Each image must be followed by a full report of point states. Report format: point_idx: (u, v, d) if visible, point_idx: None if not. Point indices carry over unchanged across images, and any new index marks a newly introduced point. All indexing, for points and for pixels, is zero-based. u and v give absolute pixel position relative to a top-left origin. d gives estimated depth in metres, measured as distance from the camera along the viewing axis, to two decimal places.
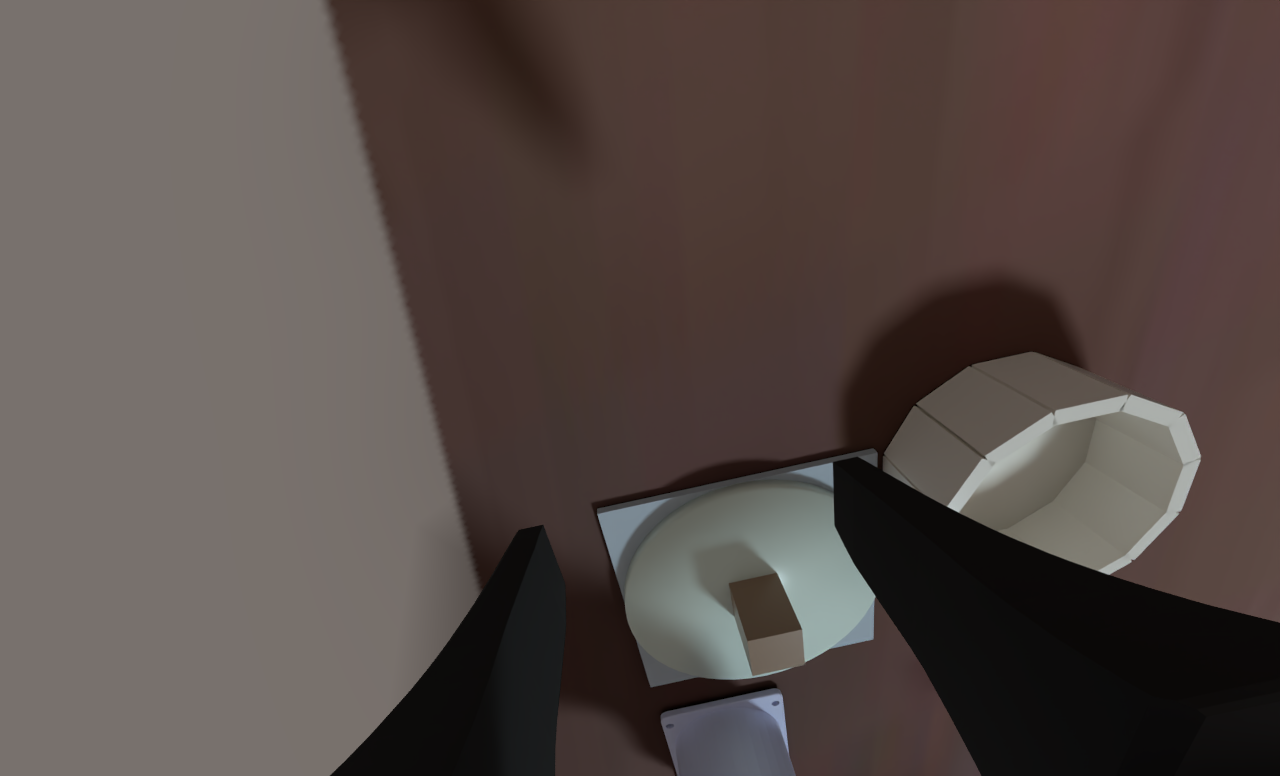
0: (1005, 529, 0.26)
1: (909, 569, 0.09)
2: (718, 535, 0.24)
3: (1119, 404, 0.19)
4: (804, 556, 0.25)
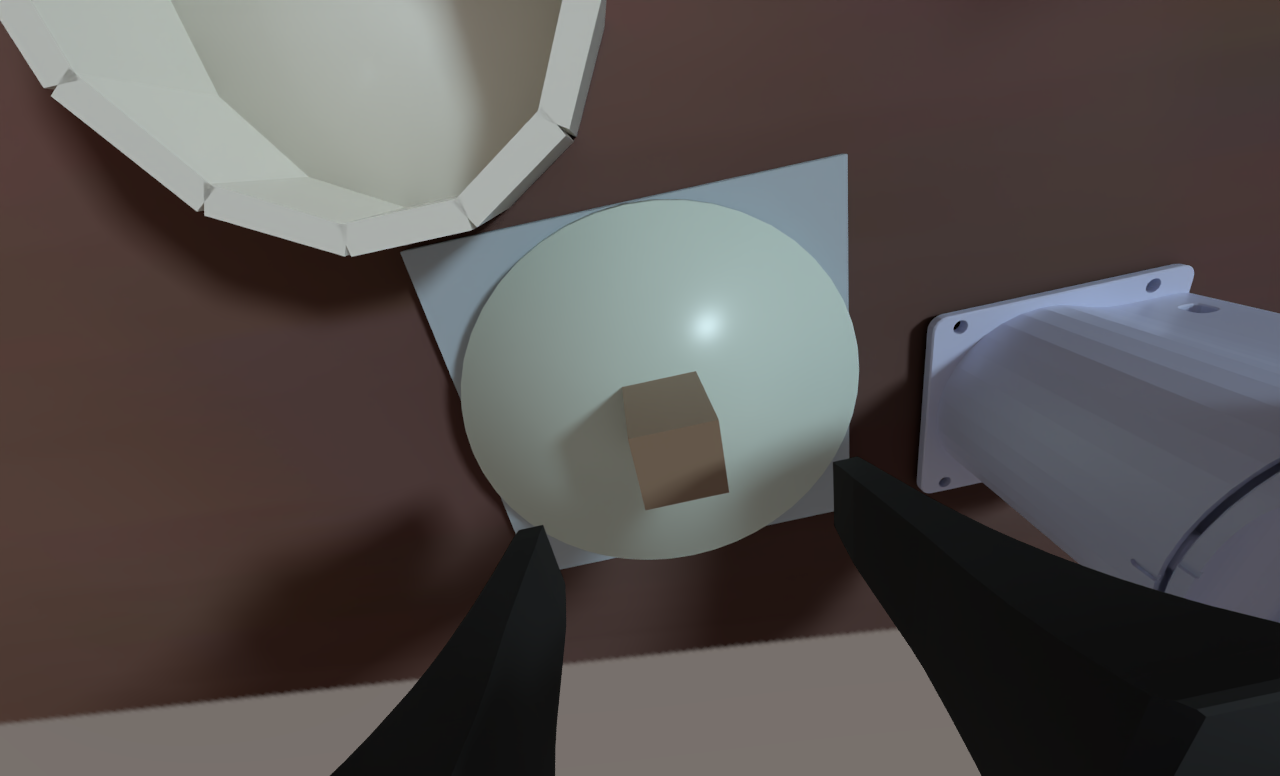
0: None
1: (909, 568, 0.09)
2: (546, 471, 0.18)
3: None
4: (590, 351, 0.16)
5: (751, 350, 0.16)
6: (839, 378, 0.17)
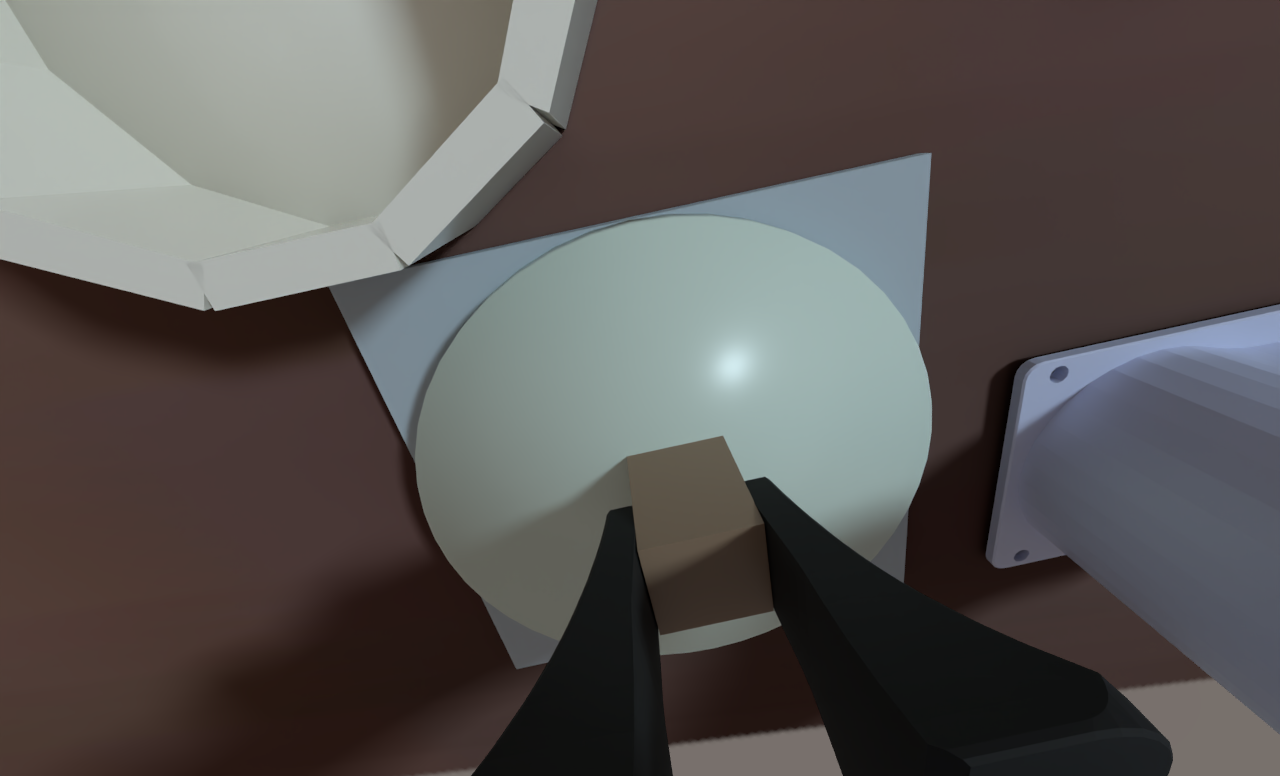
0: None
1: (792, 594, 0.09)
2: (530, 558, 0.14)
3: None
4: (585, 413, 0.12)
5: (795, 409, 0.13)
6: (906, 441, 0.13)
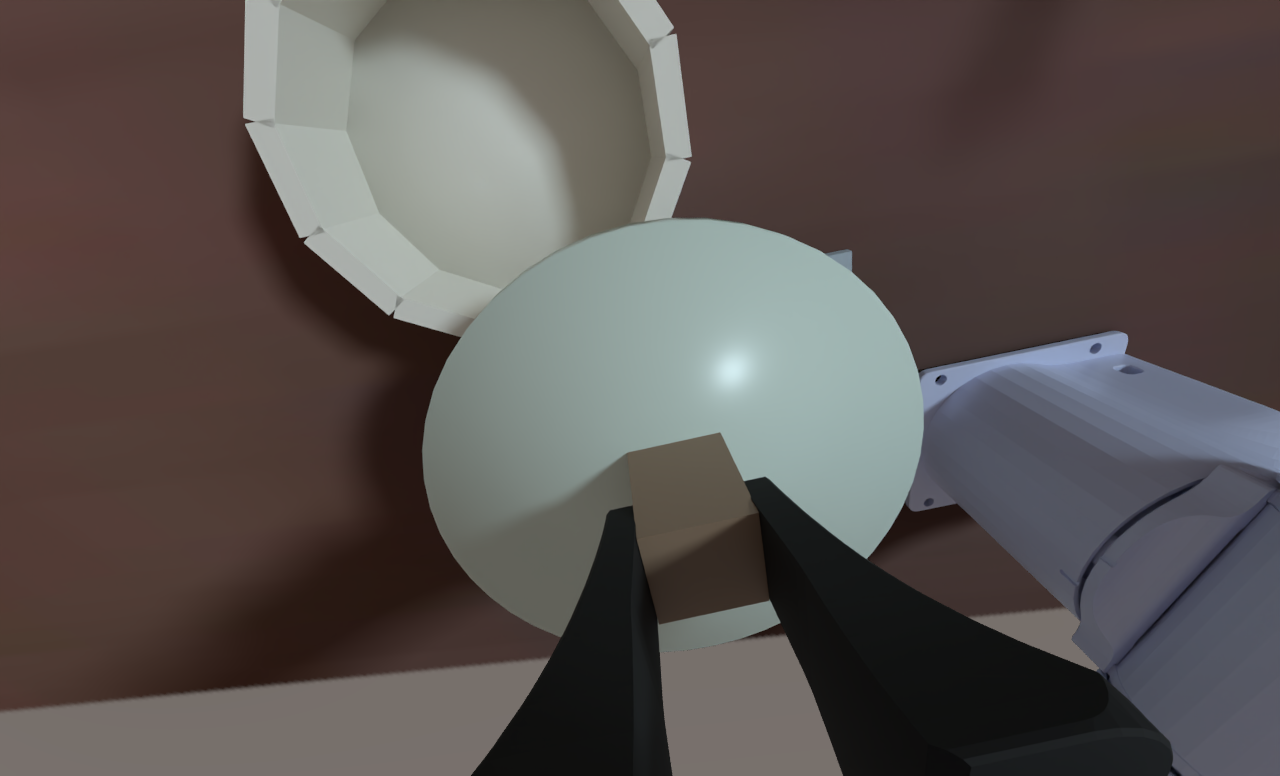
0: (637, 78, 0.16)
1: (793, 594, 0.09)
2: (533, 553, 0.14)
3: (265, 132, 0.12)
4: (587, 410, 0.13)
5: (790, 406, 0.13)
6: (899, 439, 0.14)
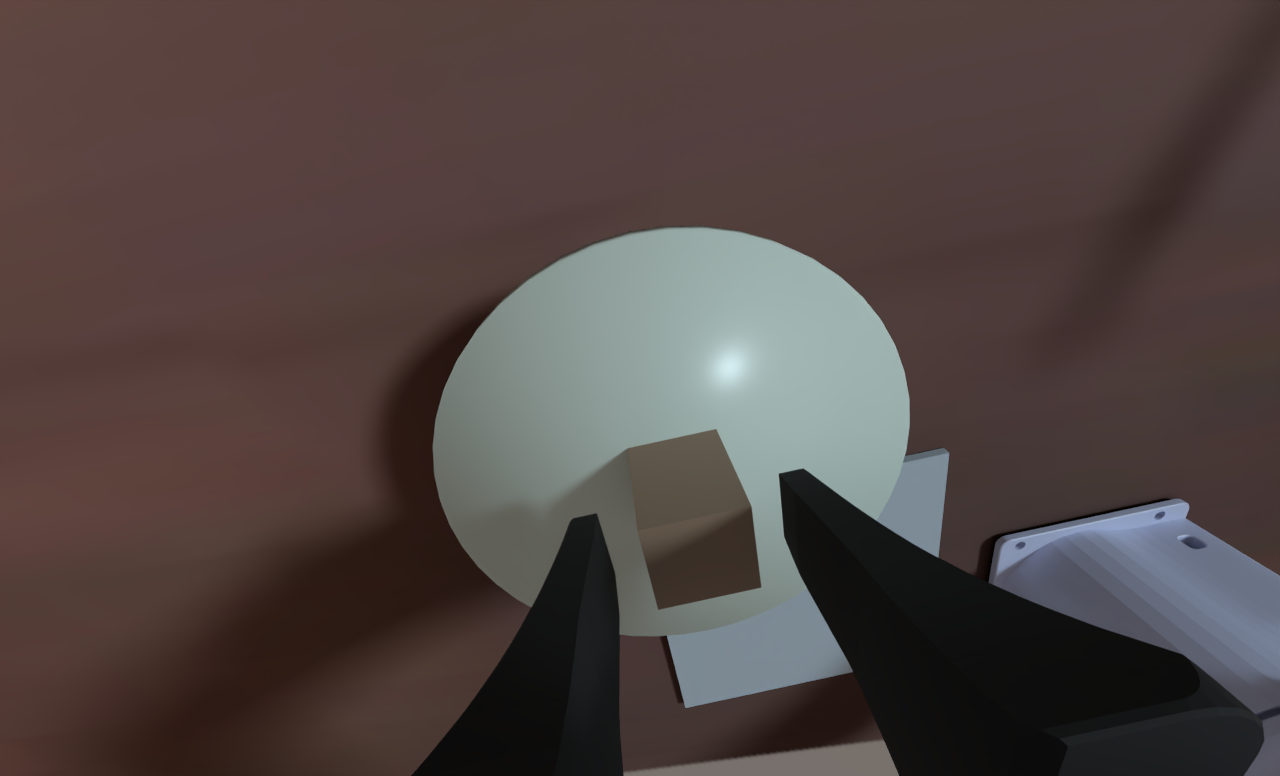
0: None
1: (841, 583, 0.09)
2: (538, 543, 0.15)
3: None
4: (589, 408, 0.13)
5: (783, 405, 0.14)
6: (885, 435, 0.14)
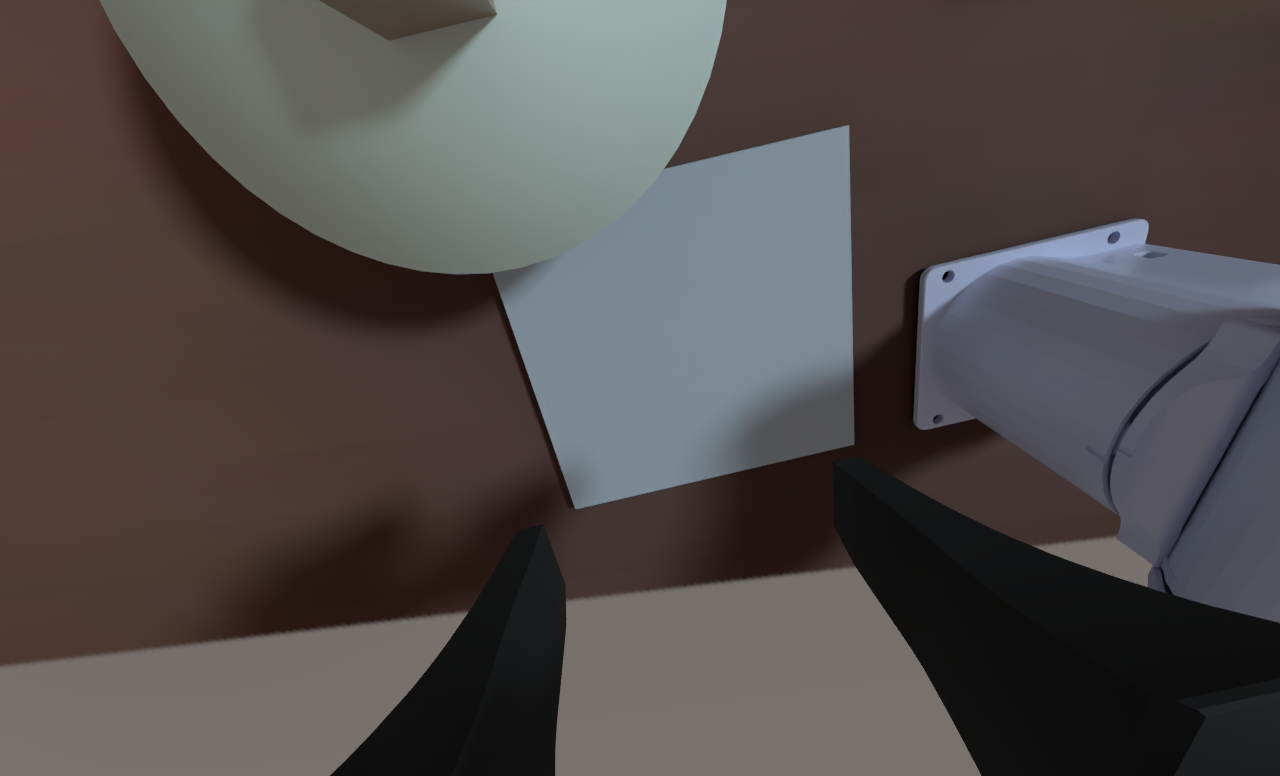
0: None
1: (909, 569, 0.09)
2: (250, 80, 0.11)
3: None
4: None
5: None
6: None
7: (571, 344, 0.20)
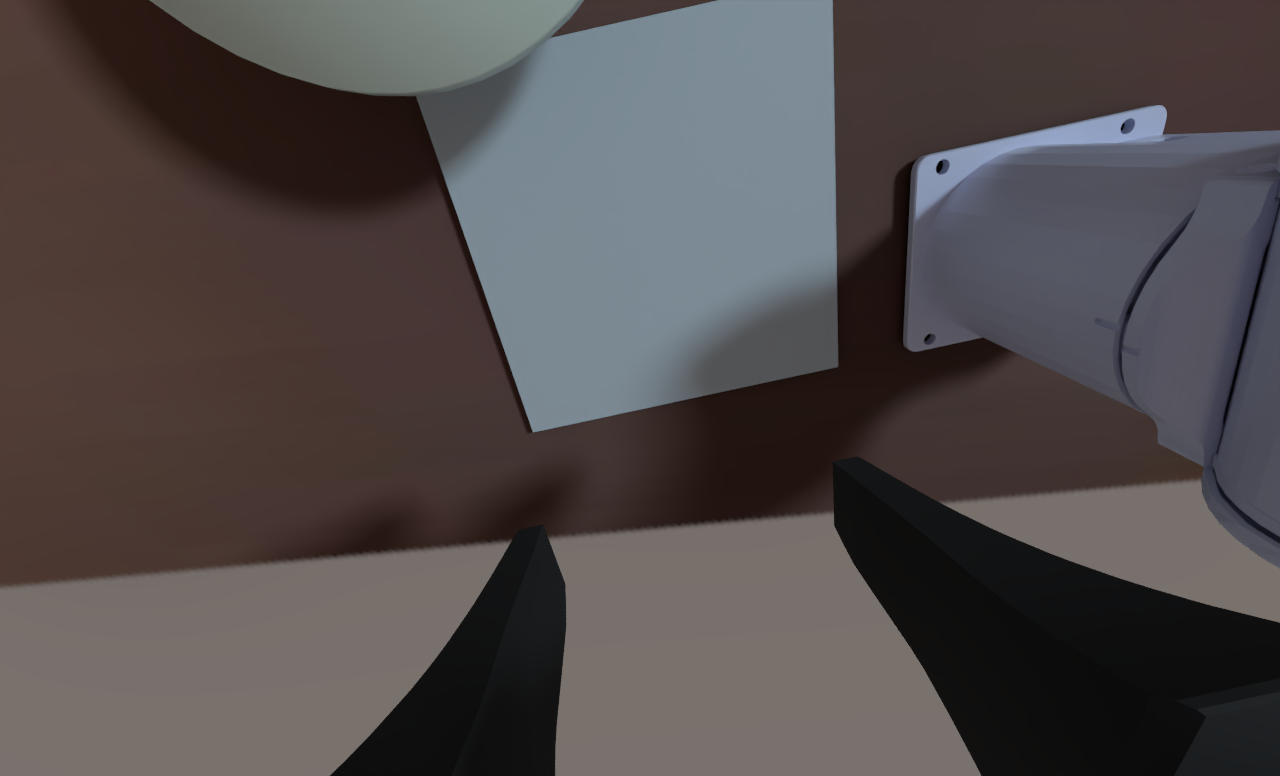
0: None
1: (909, 569, 0.09)
2: None
3: None
4: None
5: None
6: None
7: (523, 234, 0.18)
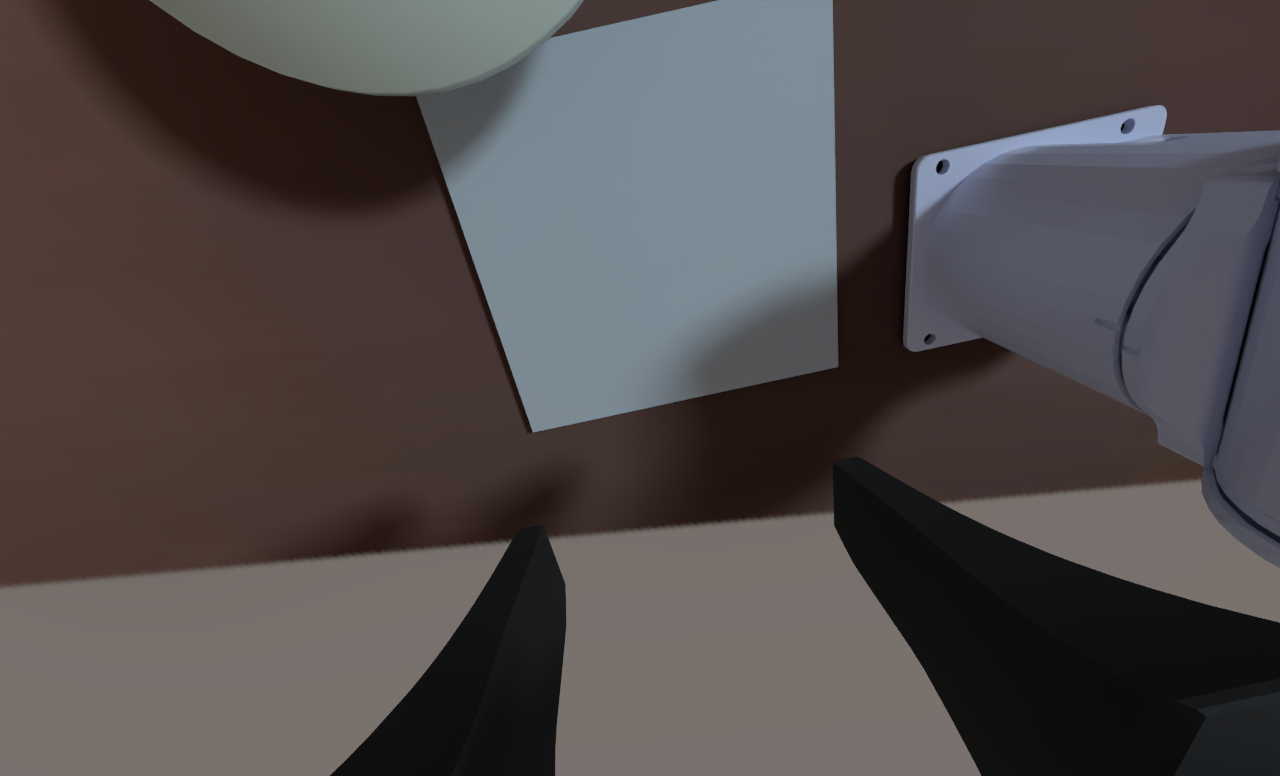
0: None
1: (909, 569, 0.09)
2: None
3: None
4: None
5: None
6: None
7: (523, 234, 0.18)
